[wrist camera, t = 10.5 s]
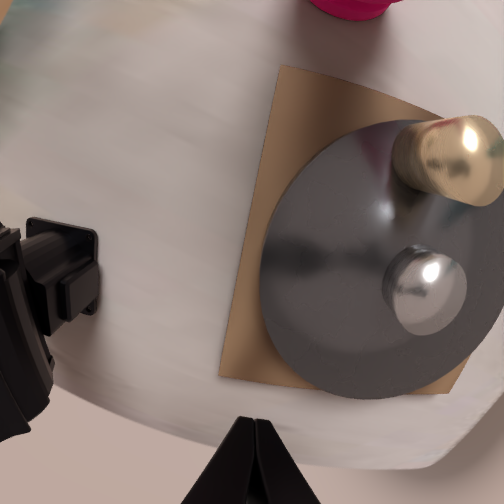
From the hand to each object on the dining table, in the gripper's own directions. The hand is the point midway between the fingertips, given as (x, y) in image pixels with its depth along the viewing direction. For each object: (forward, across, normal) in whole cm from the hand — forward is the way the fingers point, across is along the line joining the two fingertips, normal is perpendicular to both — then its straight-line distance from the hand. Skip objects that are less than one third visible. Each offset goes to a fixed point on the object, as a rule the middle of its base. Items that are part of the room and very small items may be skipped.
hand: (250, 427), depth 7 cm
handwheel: (+11, -9, -2) cm, 15 cm away
